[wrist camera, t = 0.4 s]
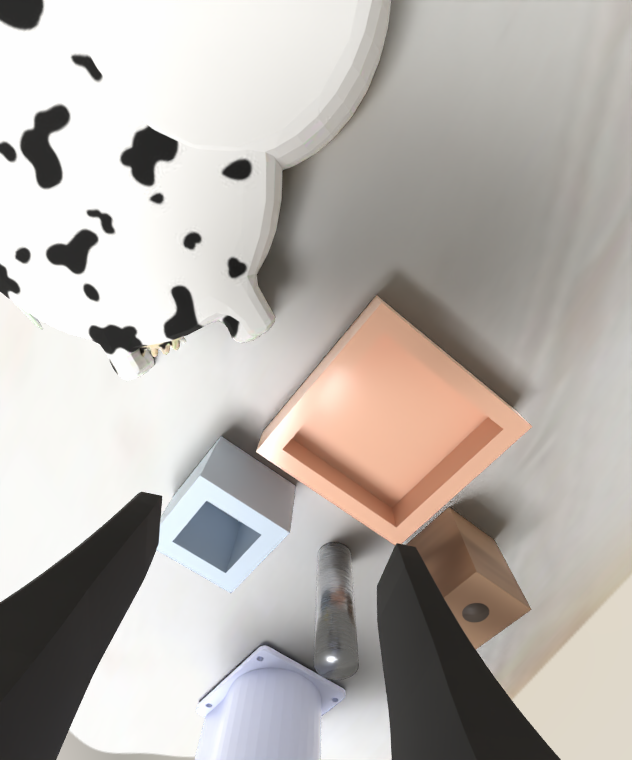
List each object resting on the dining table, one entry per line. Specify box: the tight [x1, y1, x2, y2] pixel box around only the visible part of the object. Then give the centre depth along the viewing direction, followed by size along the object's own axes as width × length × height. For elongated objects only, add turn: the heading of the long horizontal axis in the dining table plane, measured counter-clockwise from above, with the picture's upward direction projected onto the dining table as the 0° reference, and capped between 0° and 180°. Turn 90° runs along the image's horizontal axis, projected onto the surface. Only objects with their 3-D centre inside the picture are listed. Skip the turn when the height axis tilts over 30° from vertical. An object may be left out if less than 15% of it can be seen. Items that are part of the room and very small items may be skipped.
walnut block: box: [407, 507, 531, 650], centre depth 23 cm, size 4×4×5 cm
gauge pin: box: [314, 543, 358, 680], centre depth 23 cm, size 2×2×7 cm
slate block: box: [156, 436, 296, 593], centre depth 23 cm, size 6×6×4 cm
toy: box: [0, 0, 391, 380], centre depth 16 cm, size 22×5×20 cm
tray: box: [256, 295, 532, 545], centre depth 21 cm, size 10×10×2 cm
